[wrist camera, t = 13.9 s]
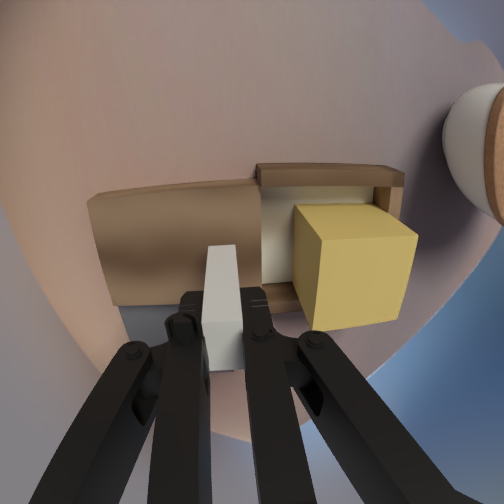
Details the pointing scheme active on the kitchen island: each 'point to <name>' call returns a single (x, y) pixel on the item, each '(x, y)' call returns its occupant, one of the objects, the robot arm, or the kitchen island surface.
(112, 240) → the brown tray
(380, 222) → the block
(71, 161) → the kitchen island surface
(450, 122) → the lidded jar
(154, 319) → the mat
